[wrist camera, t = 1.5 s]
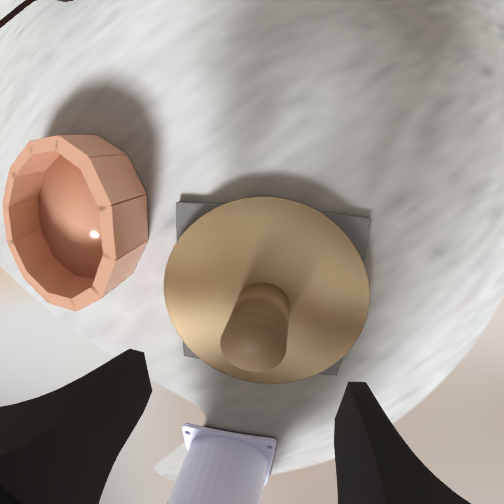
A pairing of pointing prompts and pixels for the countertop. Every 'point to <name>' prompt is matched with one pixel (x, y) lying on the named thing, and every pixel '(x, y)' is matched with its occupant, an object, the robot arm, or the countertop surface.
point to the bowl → (75, 218)
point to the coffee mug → (18, 9)
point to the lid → (266, 290)
